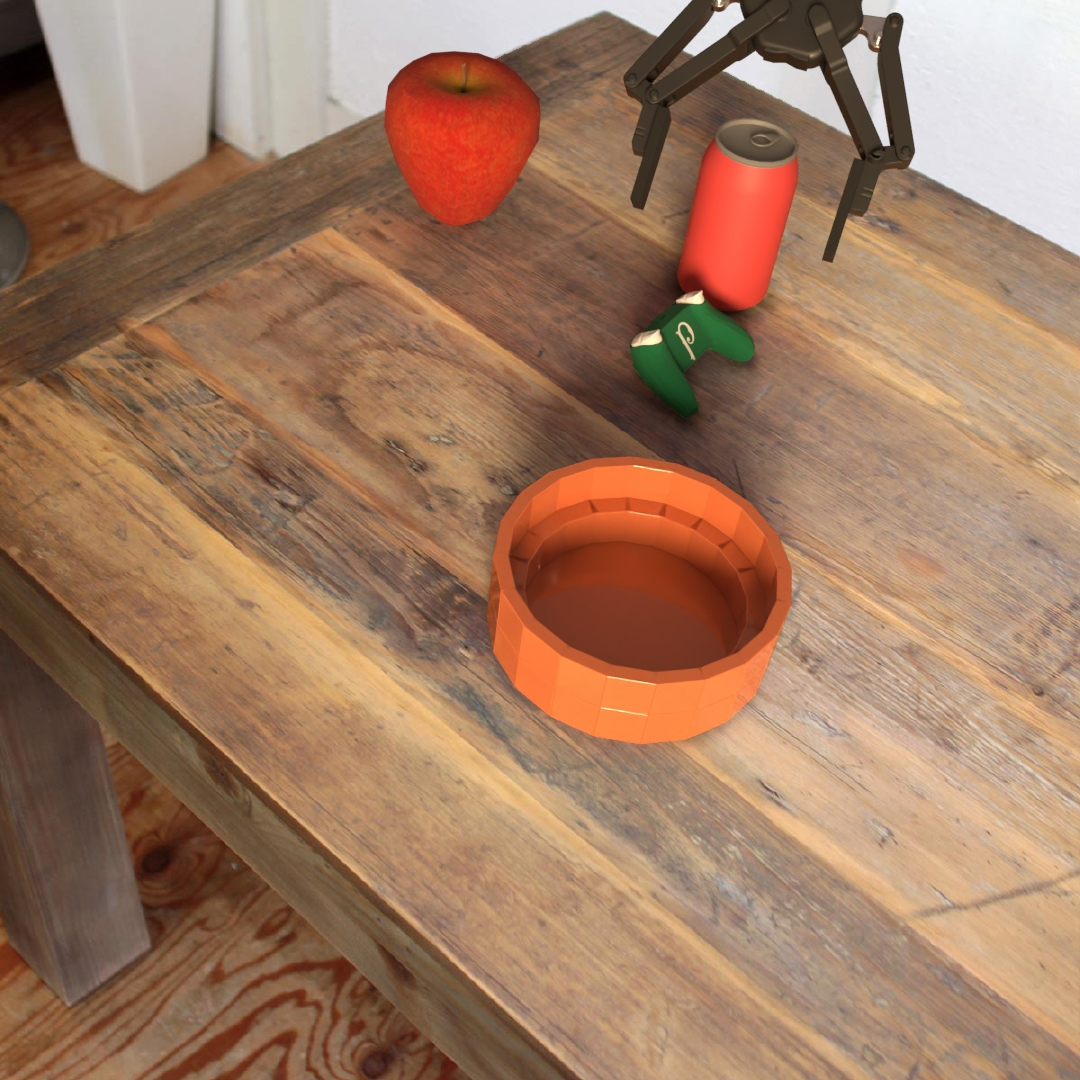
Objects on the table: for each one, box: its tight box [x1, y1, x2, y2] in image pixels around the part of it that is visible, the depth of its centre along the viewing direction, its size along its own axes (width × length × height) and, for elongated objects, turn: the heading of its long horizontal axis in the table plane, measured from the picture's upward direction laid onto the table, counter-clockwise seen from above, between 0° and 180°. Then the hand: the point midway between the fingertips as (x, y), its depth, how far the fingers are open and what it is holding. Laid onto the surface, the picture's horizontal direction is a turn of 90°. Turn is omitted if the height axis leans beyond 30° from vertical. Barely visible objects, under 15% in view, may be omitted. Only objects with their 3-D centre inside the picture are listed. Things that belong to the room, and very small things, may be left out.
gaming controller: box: [629, 290, 756, 420], centre depth 88 cm, size 9×4×6 cm
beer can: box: [676, 117, 800, 312], centre depth 92 cm, size 7×7×12 cm
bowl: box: [485, 455, 793, 745], centre depth 72 cm, size 16×16×6 cm
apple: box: [383, 50, 541, 227], centre depth 95 cm, size 11×11×12 cm
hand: (731, 231), depth 91 cm, fingers open, 13 cm apart
